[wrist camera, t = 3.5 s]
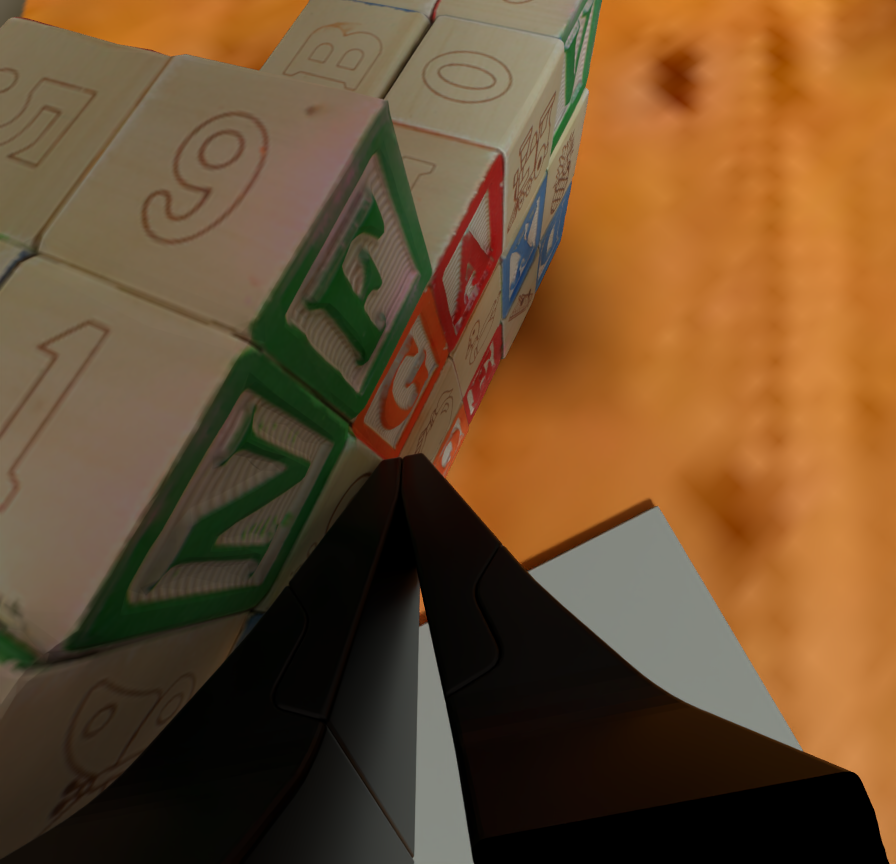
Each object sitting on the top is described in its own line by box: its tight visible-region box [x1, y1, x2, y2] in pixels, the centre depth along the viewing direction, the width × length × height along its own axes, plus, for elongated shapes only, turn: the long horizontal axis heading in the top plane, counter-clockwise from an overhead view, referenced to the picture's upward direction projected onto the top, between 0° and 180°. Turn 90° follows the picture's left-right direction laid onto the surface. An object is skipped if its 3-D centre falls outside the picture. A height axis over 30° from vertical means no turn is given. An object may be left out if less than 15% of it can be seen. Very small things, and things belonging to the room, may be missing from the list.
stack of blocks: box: [0, 0, 602, 859], centre depth 11 cm, size 21×6×12 cm, turn 154°
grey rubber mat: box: [413, 506, 803, 864], centre depth 14 cm, size 12×14×1 cm
